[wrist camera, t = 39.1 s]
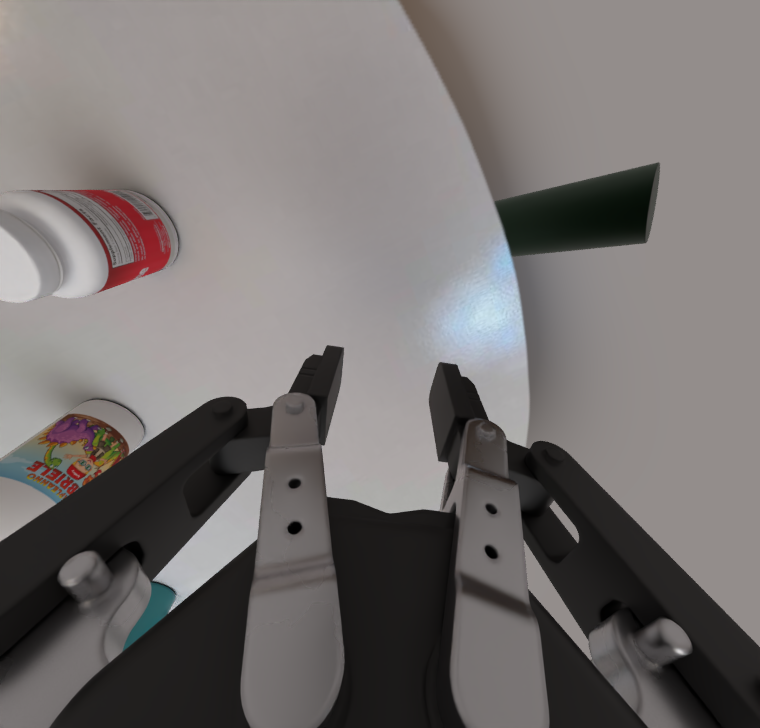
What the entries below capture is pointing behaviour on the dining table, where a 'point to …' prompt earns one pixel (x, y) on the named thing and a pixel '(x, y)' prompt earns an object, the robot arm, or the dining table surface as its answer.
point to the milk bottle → (63, 460)
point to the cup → (152, 611)
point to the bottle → (582, 213)
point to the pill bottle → (79, 242)
